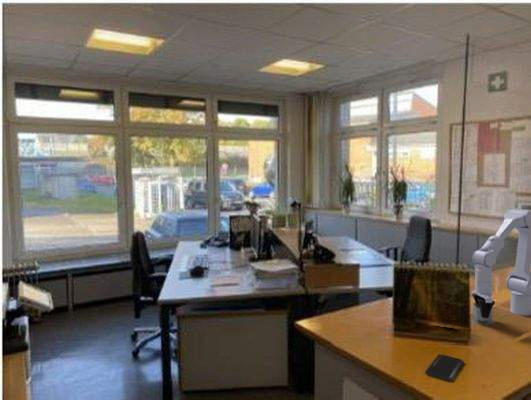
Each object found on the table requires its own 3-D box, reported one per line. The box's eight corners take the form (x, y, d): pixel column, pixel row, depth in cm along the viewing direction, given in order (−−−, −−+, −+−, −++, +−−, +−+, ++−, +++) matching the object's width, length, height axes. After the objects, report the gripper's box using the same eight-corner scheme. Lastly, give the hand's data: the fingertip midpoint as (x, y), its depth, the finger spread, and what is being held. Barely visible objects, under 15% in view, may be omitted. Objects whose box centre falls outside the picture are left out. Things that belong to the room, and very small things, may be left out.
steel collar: (472, 315, 164) (473, 303, 164) (487, 315, 163) (487, 303, 163) (476, 320, 159) (476, 307, 159) (491, 321, 158) (492, 308, 158)
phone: (464, 360, 131) (451, 379, 119) (464, 363, 131) (451, 383, 119) (439, 353, 136) (423, 371, 124) (438, 356, 136) (423, 375, 124)
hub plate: (478, 319, 166) (478, 309, 166) (496, 324, 160) (496, 314, 160) (469, 323, 162) (469, 313, 162) (486, 328, 157) (486, 318, 156)
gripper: (467, 275, 168) (466, 308, 169) (477, 286, 154) (477, 321, 155) (485, 276, 166) (485, 308, 168) (498, 286, 152) (497, 322, 153)
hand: (482, 314), depth 161 cm, fingers closed on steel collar, 5 cm apart
